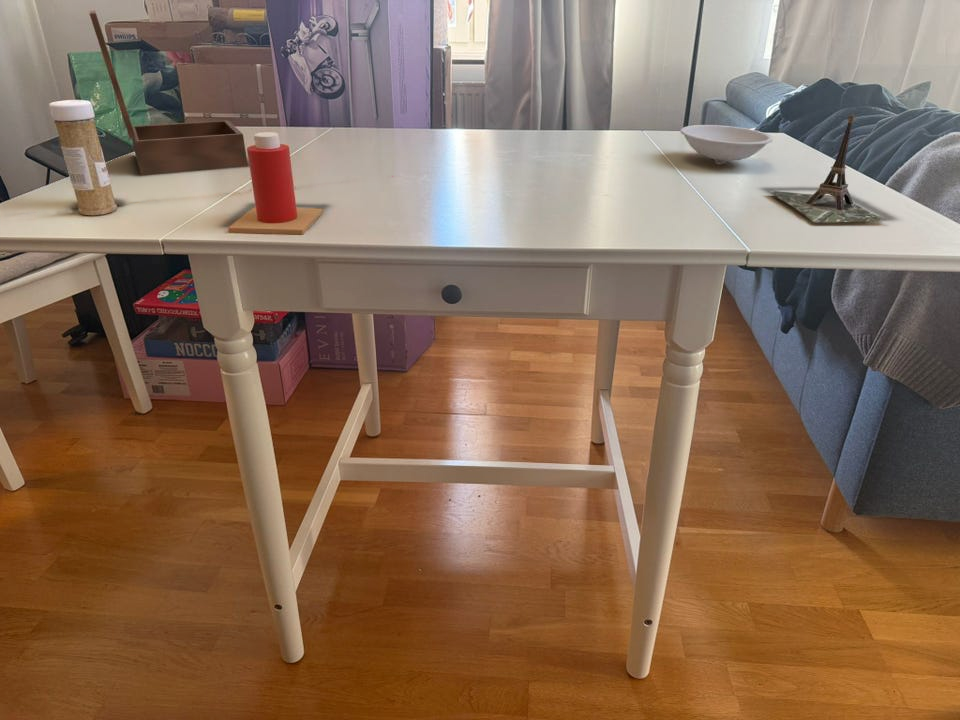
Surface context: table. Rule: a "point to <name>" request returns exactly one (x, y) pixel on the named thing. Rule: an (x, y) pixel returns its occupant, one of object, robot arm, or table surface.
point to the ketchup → (272, 179)
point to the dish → (725, 141)
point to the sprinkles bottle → (83, 156)
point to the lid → (112, 73)
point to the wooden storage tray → (188, 147)
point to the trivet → (295, 226)
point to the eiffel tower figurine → (831, 205)
